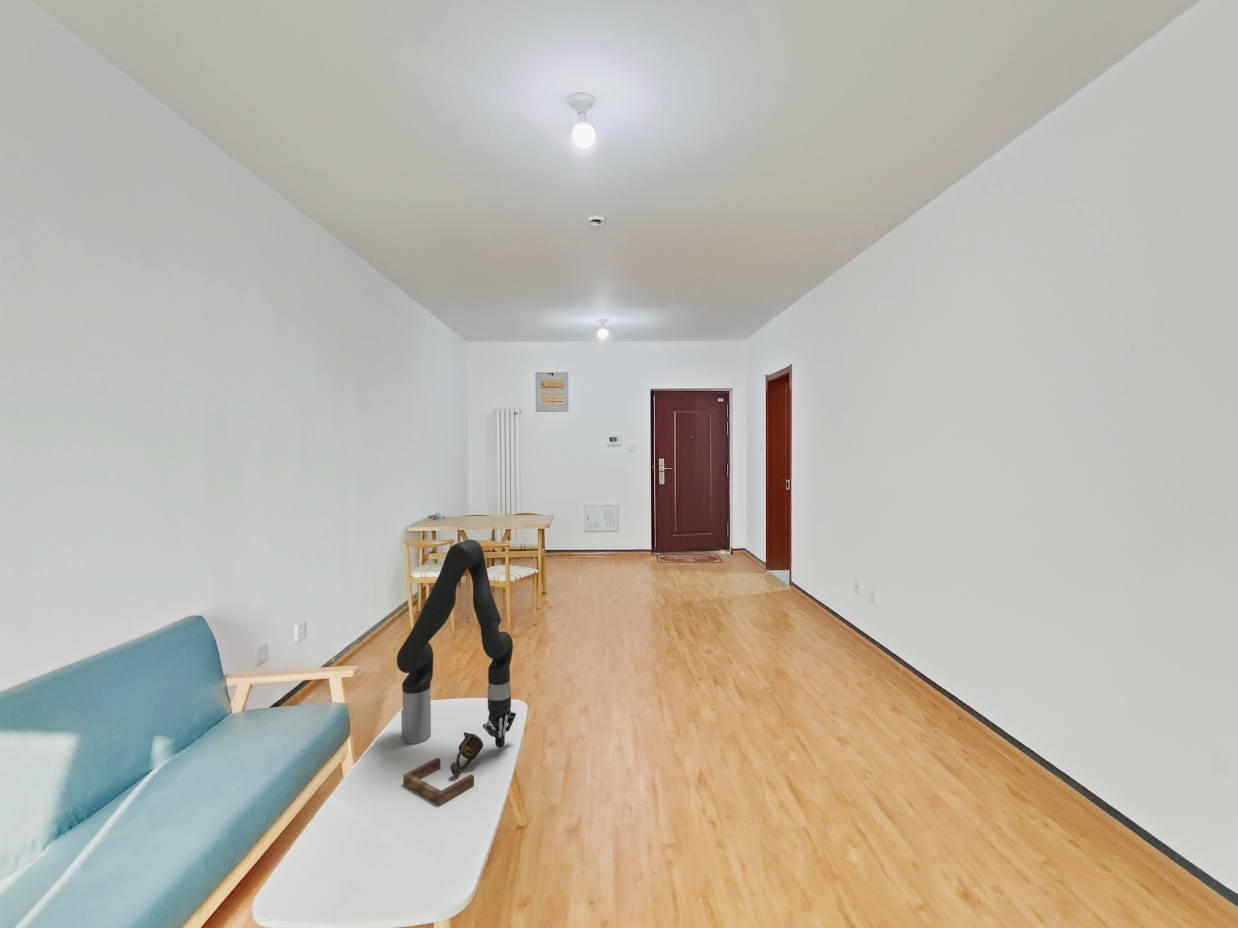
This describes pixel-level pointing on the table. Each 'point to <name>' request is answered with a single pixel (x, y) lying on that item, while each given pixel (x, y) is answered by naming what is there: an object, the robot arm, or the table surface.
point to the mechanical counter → (467, 751)
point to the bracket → (431, 792)
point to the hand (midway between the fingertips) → (500, 746)
